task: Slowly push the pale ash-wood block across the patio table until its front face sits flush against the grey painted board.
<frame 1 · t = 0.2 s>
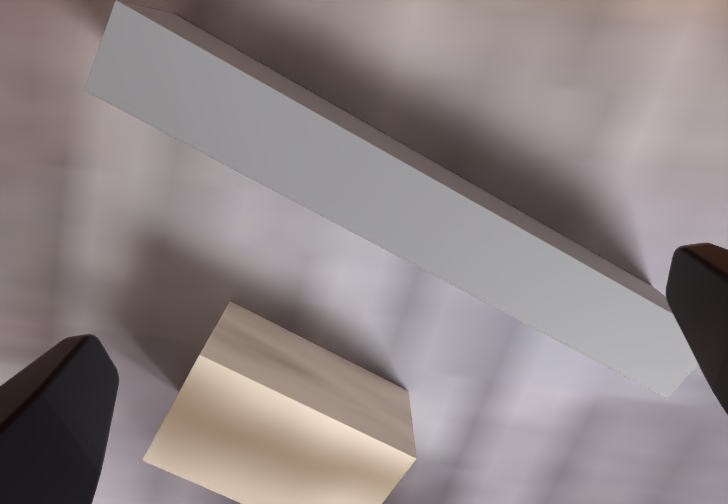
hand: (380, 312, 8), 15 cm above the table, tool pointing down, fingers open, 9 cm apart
ash block: (294, 389, 27), on the table
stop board: (415, 191, 23), on the table
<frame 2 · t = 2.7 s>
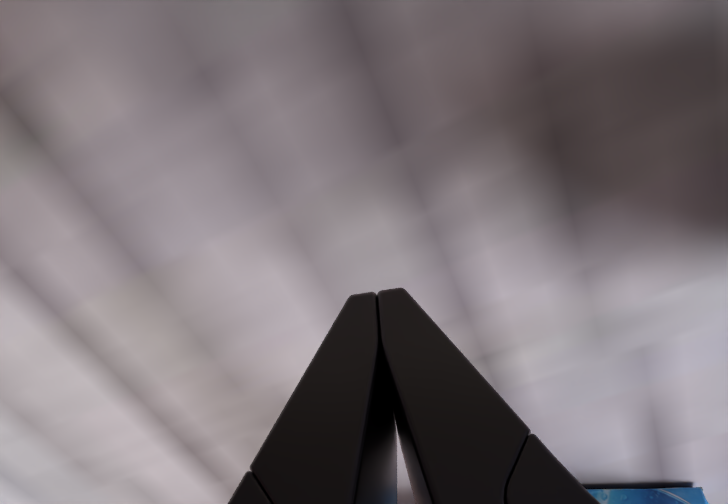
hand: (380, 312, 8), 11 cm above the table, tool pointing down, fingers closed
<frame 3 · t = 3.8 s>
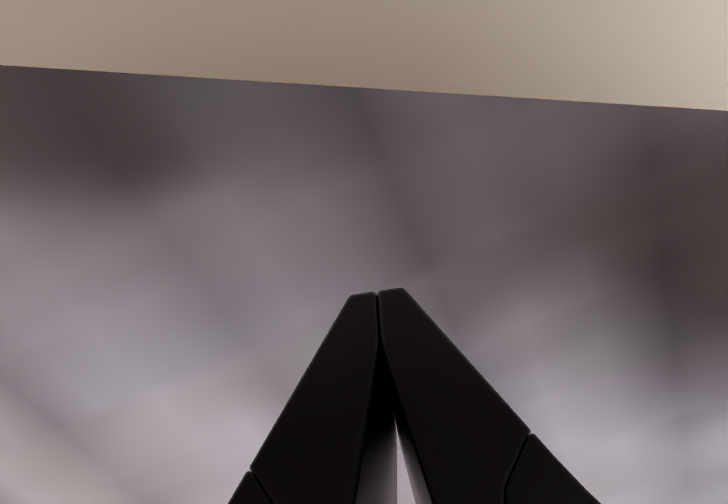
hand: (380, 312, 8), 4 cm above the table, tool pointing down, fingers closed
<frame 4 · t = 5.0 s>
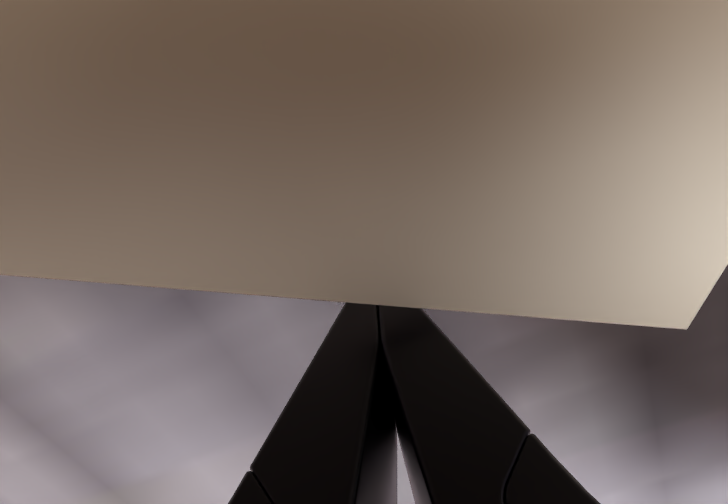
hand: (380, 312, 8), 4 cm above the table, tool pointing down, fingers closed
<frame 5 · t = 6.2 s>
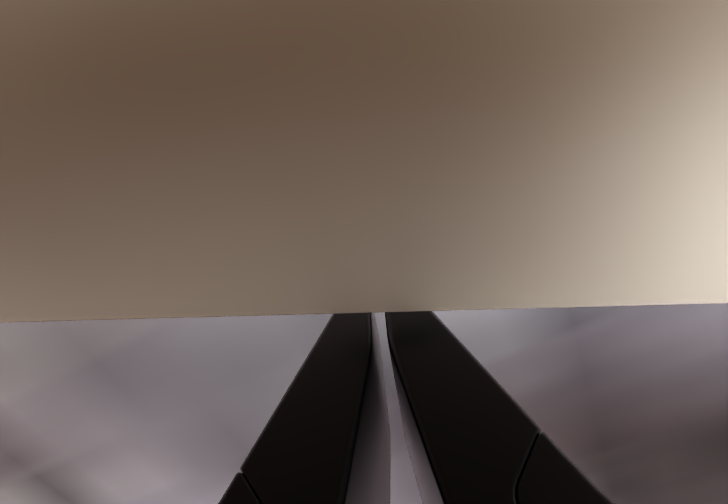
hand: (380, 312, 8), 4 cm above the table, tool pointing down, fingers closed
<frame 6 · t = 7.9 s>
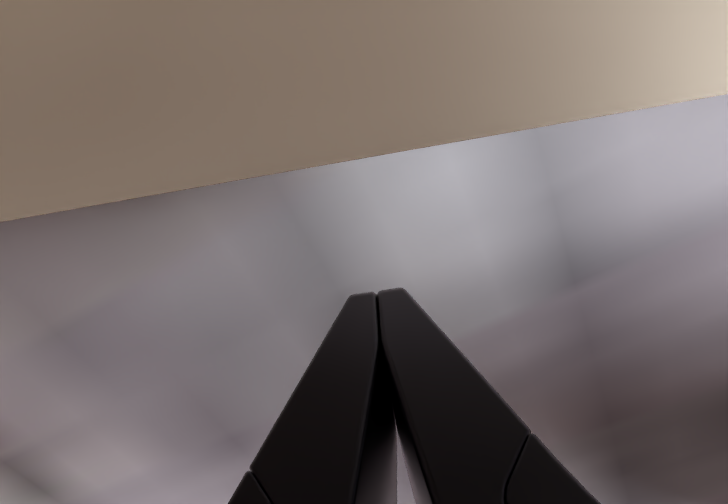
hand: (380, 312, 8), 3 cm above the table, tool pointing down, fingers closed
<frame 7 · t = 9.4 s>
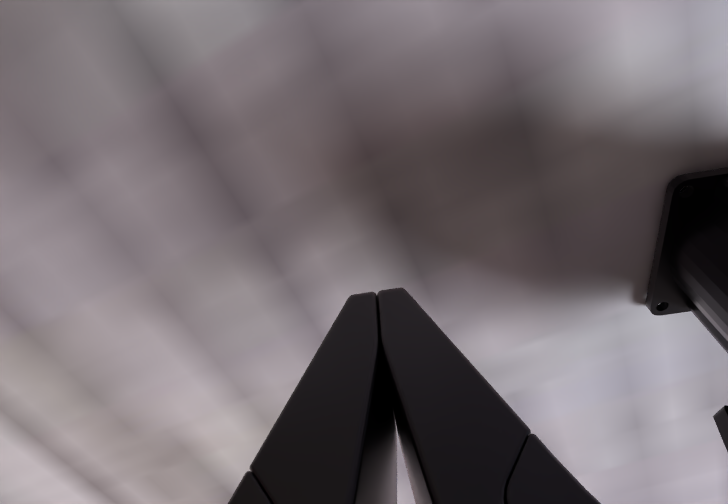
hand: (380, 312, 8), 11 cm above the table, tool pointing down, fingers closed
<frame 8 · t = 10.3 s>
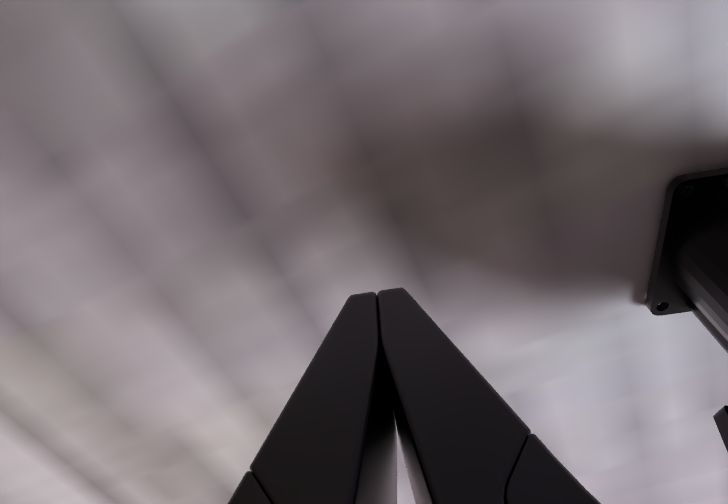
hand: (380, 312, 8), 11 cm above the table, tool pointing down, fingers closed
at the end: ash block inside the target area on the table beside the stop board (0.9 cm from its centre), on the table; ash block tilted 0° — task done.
